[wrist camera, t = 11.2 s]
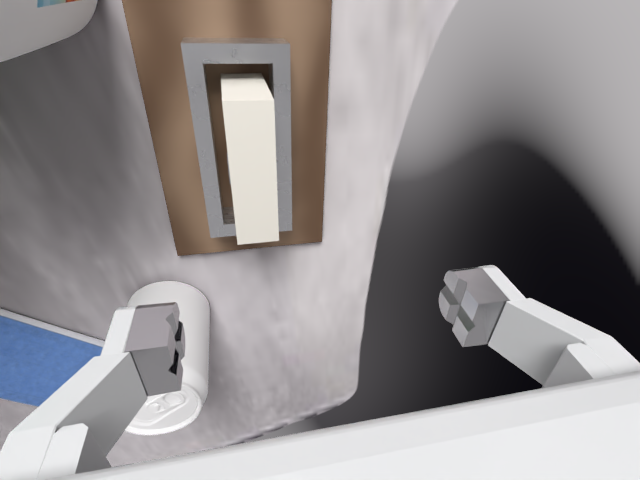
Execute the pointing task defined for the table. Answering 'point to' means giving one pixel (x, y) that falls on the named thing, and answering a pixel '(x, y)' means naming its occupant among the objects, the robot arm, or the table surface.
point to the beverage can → (186, 404)
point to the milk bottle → (40, 23)
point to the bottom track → (194, 64)
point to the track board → (175, 113)
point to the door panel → (251, 156)
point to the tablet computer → (39, 357)
